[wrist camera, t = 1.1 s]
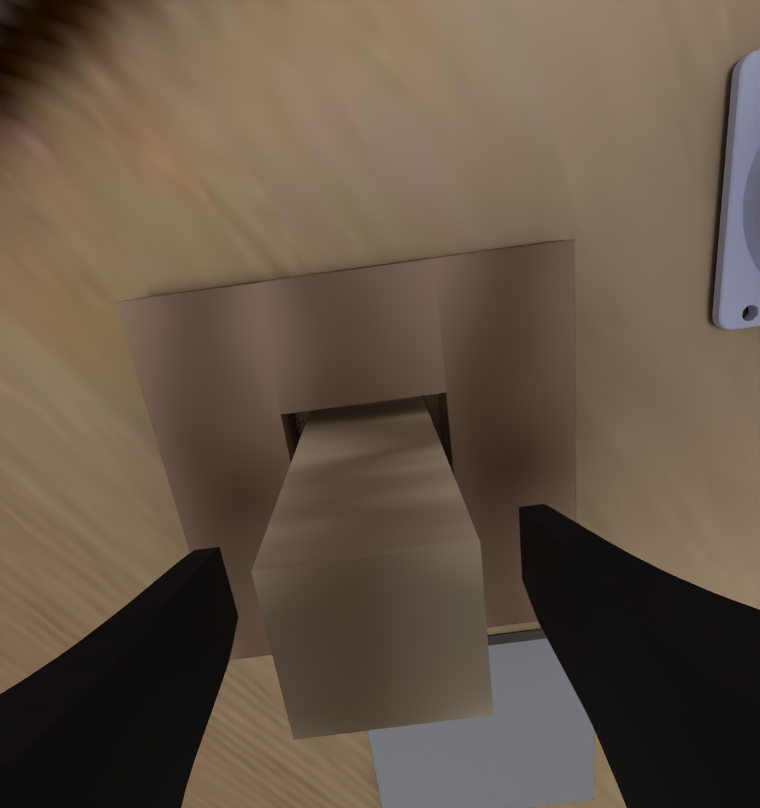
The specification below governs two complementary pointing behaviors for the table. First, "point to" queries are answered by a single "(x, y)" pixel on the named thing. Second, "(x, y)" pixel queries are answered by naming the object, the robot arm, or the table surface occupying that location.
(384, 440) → the maple plug
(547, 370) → the brown square hole board
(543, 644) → the pad
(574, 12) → the table surface
